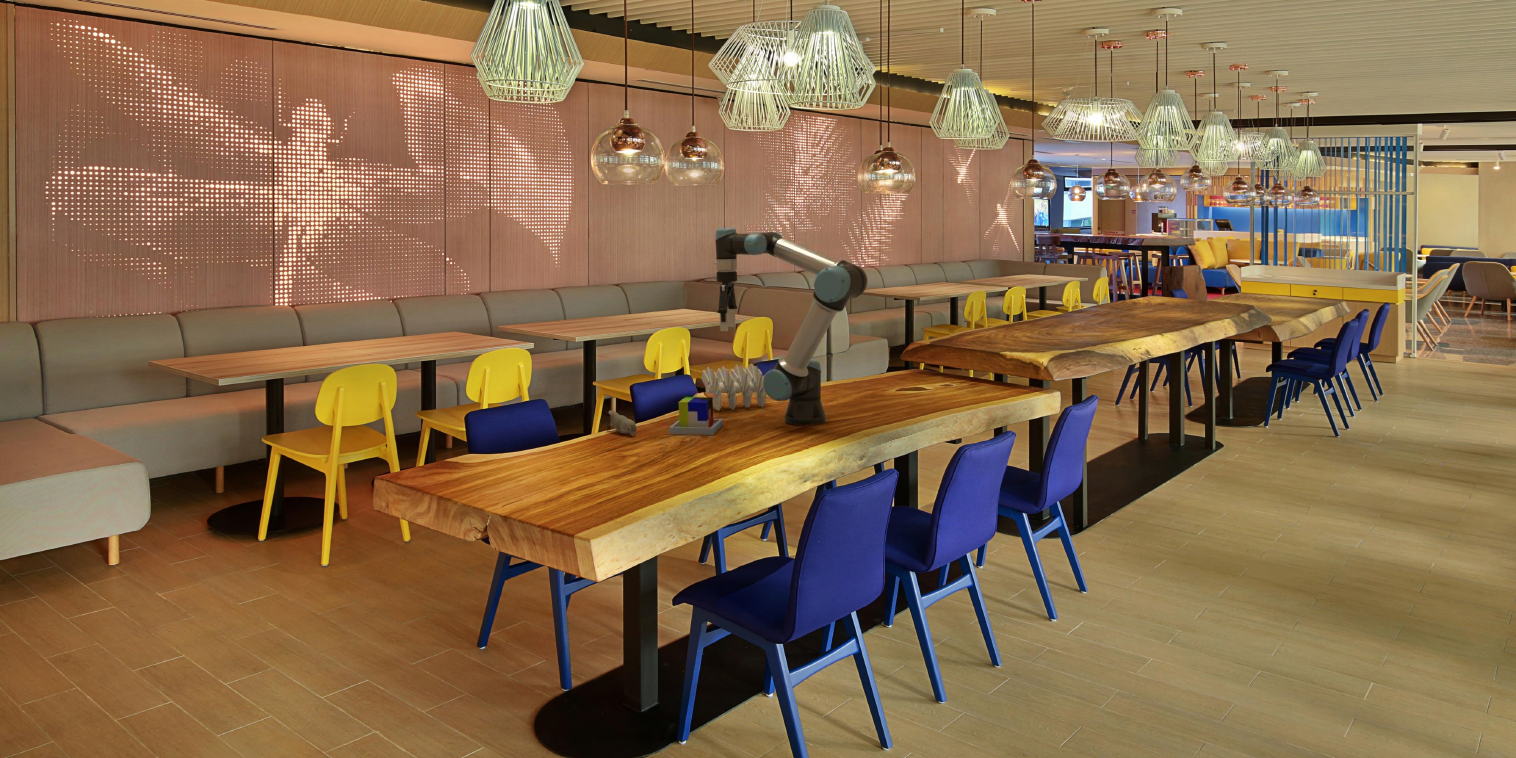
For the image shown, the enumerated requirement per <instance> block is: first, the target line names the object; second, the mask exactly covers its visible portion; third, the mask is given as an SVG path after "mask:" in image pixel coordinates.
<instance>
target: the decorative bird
mask: <svg viewBox="0 0 1516 758" xmlns="http://www.w3.org/2000/svg"><path fill="white" fill-rule="evenodd" d="M607 413H608V414H609V415H610V417H609V418H610V425H609V424H608V423H606V424H607V427H606V428H607V429H606V432H608V431H609V432H610V430H612V428H611V427H613V430H615V431H616V432H618V433H620V434H624V435H628V434H629V435H631V436H632V437H633V438H635V437H636V434H637V430H638V429H637V425H636V422H635V421H633V420H632V419H630V418H628V417H627V416H625V415H623V414H622V415H621V414H619V413H618V412H616V411H615V410H611V409H610V410H609V411H608V412H607Z"/></svg>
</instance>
